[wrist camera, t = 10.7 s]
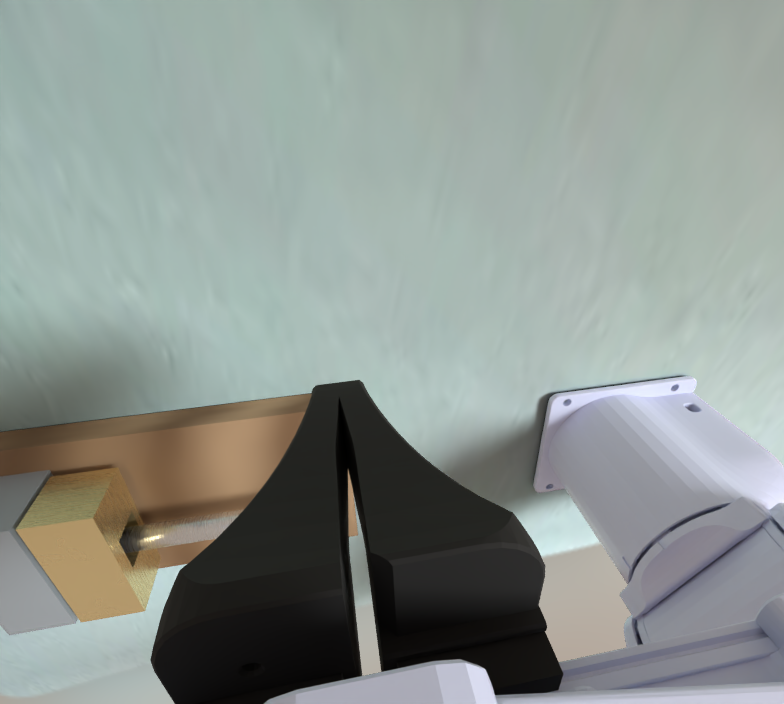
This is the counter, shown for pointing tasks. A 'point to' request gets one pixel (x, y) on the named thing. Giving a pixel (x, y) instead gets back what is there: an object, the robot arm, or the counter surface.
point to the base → (142, 486)
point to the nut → (90, 544)
